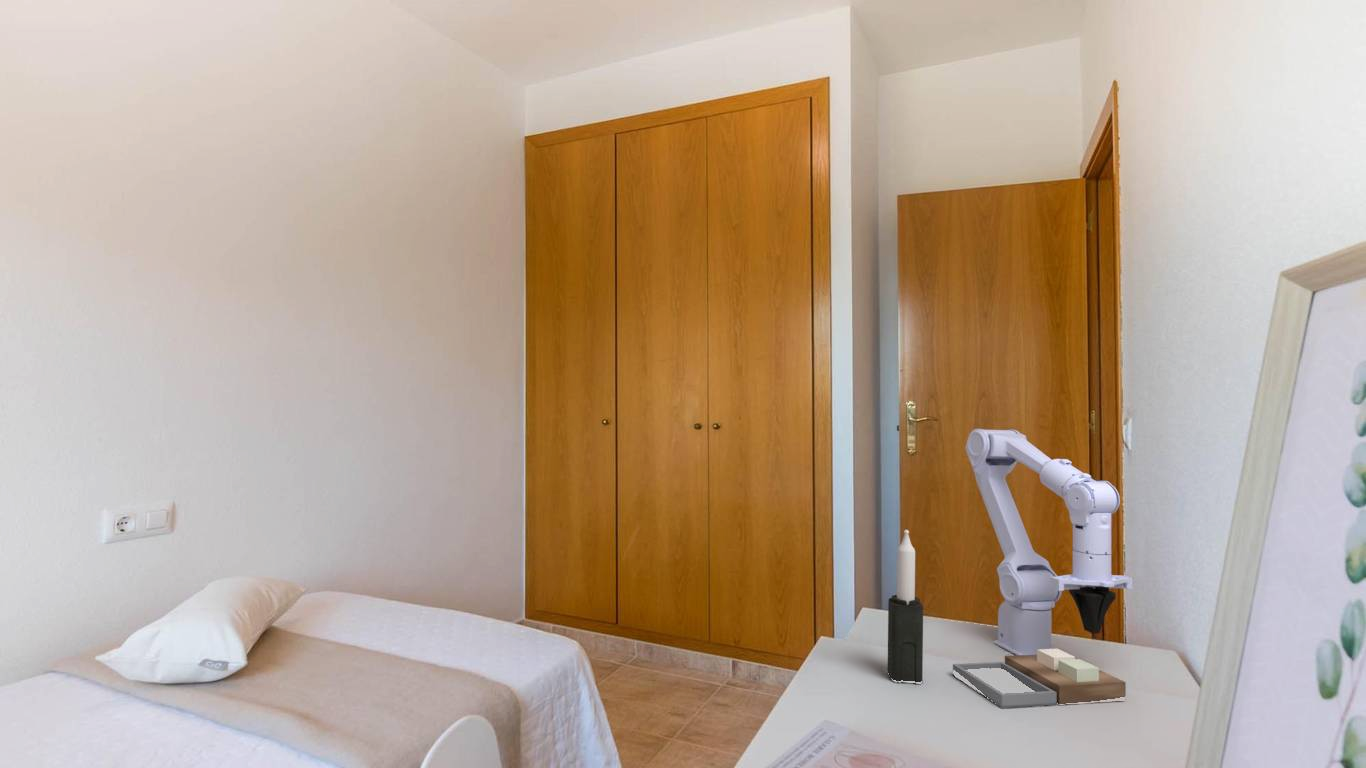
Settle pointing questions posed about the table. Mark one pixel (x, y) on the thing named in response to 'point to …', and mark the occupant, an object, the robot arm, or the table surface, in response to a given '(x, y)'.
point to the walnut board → (1068, 681)
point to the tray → (1009, 700)
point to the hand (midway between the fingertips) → (1091, 631)
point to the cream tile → (1052, 657)
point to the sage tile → (1078, 670)
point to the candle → (905, 620)
